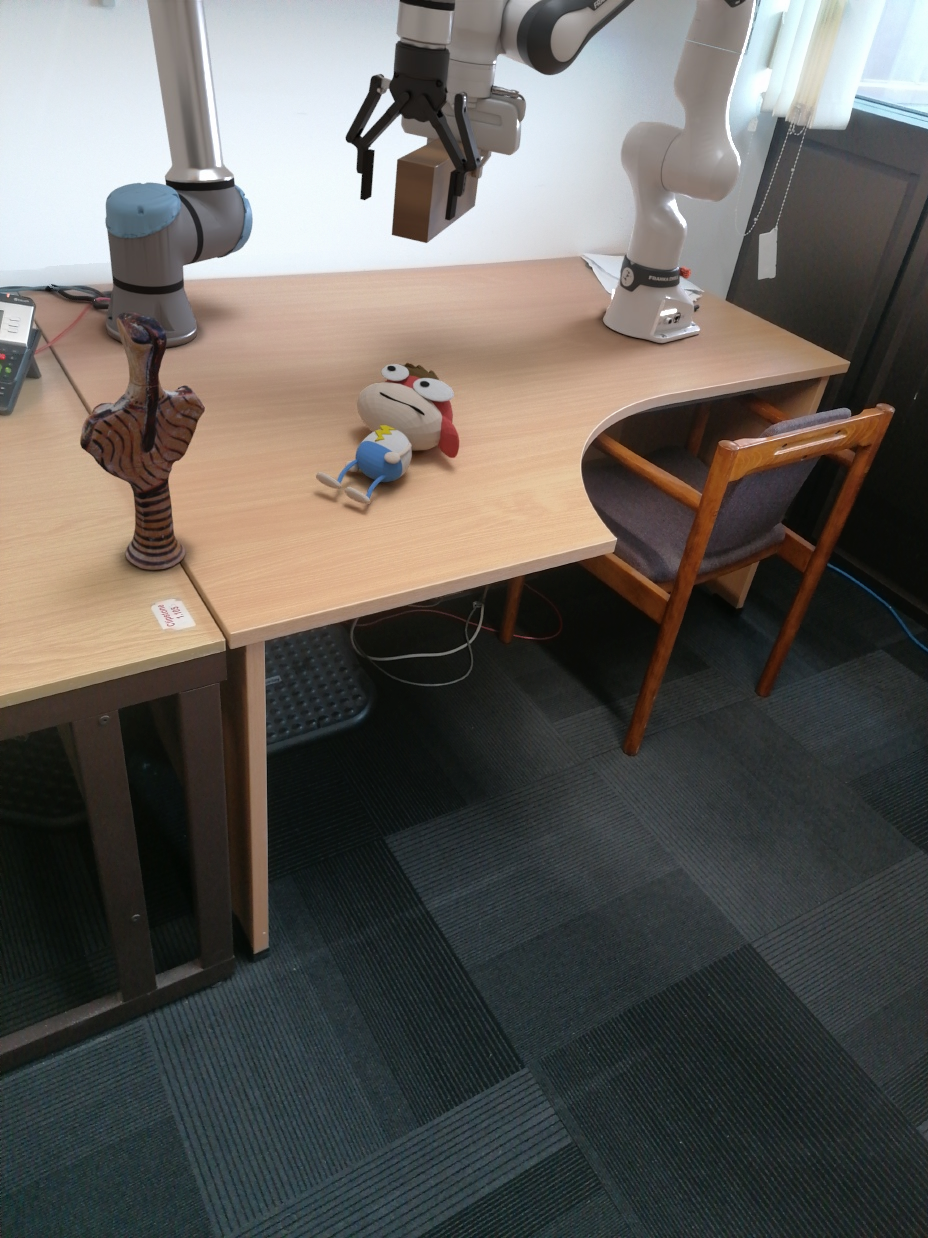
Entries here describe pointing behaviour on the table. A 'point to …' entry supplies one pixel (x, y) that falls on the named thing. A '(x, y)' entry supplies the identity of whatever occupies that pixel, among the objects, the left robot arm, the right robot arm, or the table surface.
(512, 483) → the table surface
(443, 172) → the box
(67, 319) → the table surface
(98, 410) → the figurine
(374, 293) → the table surface
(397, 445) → the toy
